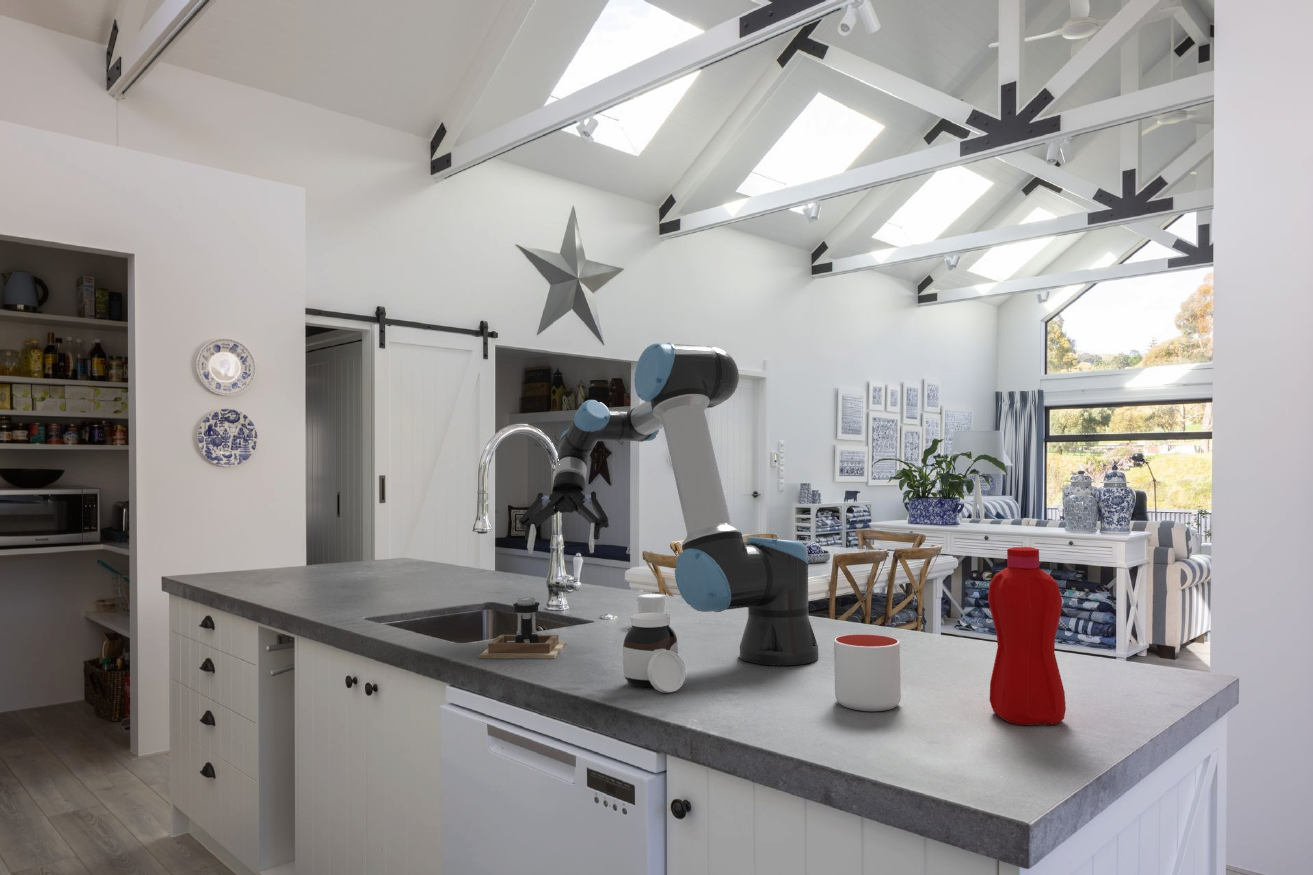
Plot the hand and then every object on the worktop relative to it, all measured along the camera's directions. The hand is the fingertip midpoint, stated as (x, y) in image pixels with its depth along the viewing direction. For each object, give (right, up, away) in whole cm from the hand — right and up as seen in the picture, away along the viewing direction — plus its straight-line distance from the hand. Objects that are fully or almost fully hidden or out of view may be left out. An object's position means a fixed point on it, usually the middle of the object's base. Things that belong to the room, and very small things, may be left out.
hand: (560, 549), depth 193 cm
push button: (-6, -19, -13) cm, 24 cm away
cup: (+54, -17, -56) cm, 80 cm away
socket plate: (-6, -19, -14) cm, 24 cm away
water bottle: (+75, -17, -63) cm, 100 cm away
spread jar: (+21, -18, -43) cm, 51 cm away
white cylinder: (+20, -20, +13) cm, 31 cm away
